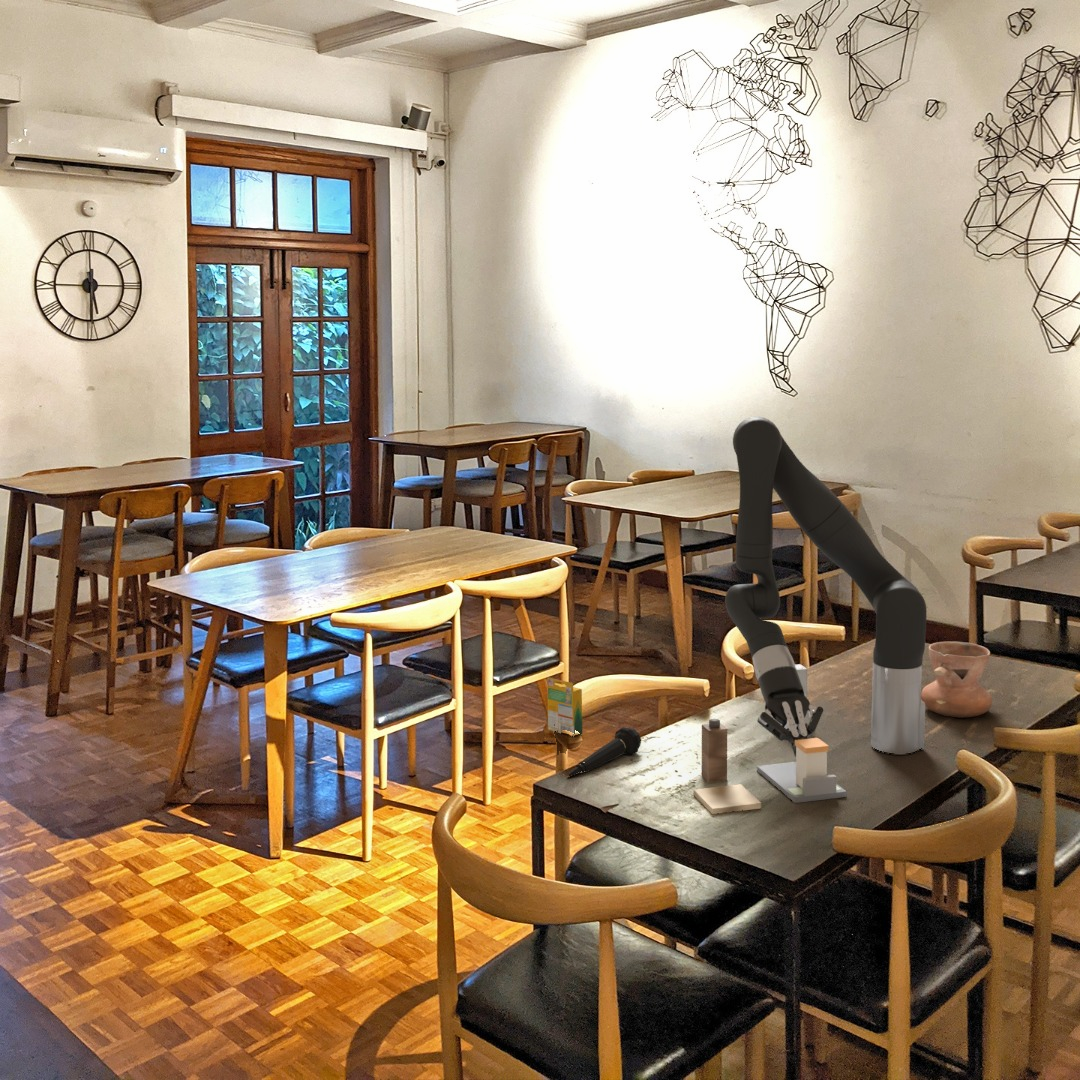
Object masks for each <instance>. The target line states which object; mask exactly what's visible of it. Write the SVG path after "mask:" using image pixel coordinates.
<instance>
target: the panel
mask: <svg viewBox="0 0 1080 1080" xmlns="http://www.w3.org/2000/svg"><path fill="white" fill-rule="evenodd" d="M756 772H758V774H760V775H761V776H762V777H764V779H766V780H767V781H768V782H769V781H770V782H769V783H770V784H772V785H773V786H774V787H775V786H776V787H777V788H778V789H777V788H776V787H775V788H776V789H777V790H778V791H780V790H781V791H782V792H783V793H784V794H785V795H784V794H783V793H782V792H781V791H780V792H781V793H782V794H783V795H784V796H786V795H787V796H786V797H787V798H788V799H789V798H790V799H791V800H792V801H791V800H790V799H789V800H790V801H791V802H792V803H793V804H798V803H805V802H815V801H821V800H822V801H823V800H830V799H838V798H839V799H840V798H846V797H847V793H848V792H847V790H845V789H844V788H843V787H842V786H840V785H839V784H838V783H837V779H838V778H837V775H835V774H828V775H825V776H817V777H808V778H803V788H802V787H800V786H799V785H798V784H797V783H796V761H791V762H790V761H789V762H782V763H781V762H780V763H772V764H761V765H757V766H756Z"/></svg>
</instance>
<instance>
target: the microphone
mask: <svg viewBox="0 0 1080 1080" xmlns="http://www.w3.org/2000/svg"><path fill="white" fill-rule="evenodd" d="M641 745H642V738H641V735H640V734H639V732H638V731H637V730H636V729H635V728H632V727H621V728H619V729H618V730H616V731H615V735H614V739H612V740H610V741H609V742H607V743H606V744H605V745H603V746H602V747H600V748H599V749H597V750H596V751H594V752H593V753H591V754H589V755H588V756H587V757H586V758H583V760H581V761H579V762H578V764H581V765H578V764H577V765H576V766H575V767H574V768H573V769H571V770H570V771H569V772H568V773H567V774H566V776H567V775H569V776H571V775H574V774H576V773H578V772H581V771H582V772H584V771H588V770H590V771H591V769H592V770H594V769H596V768H598V767H600V766H602V765H604V764H606V763H607V762H611V761H612V760H614V759H616V758H618V757H620V756H622V755H623V754H624V755H628V756H632V755H635V754H636V753H638V752H639V748H640V747H641ZM583 762H585V763H583ZM588 772H589V771H588ZM584 773H585V772H584ZM574 776H575V775H574Z"/></svg>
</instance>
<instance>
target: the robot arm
mask: <svg viewBox="0 0 1080 1080" xmlns="http://www.w3.org/2000/svg"><path fill="white" fill-rule="evenodd" d="M732 436H733V437H732V446H733V450H734V452H735V455H736V460H737V461H736V462H737V468H738V475H739V505H738V512H737V513H738V514H737V522H736V524H737V525H736V535H735V536H736V537H735V539H736V540H735V542H736V543H735V566H736V568H737V569H738V570H739V571H740V572H743V573H746V574H752V575H755V576H756V578H757V582H756V583H742V584H740V583H739V584H734V585H732V586H730V588H729V589H728V590H727V591H726V594H725V597H724V598H725V599H724V603H725V608H726V612H727V613H728V616H729V618H730V619H731V621H732V622H733V624H734V625H735V626H736V628H737V629H738V631H739V632H740V633H741V635H742V637H743V639H744V640H745V641H746V643H747V647H748V650H749V653H750V656H751V659H752V663H753V668H754V673H755V678H756V679H757V682H758V685H759V689H760V691H761V694H762V697H763V701H764V702H765V706H764V711H763V712H761V714H760V715H759V717H758V718H757V721H756V722H757V724H759V725H760V726H762V728H764V729H765V730H766V731H768V732H769V733H771V734H772V735H773V736H774V737H775V738H777V739H778V741H780V742H783V741H787V742H789V743H790V745H791V749H792V752H793V755H794V757H795V758H796V746H795V740H801V739H810V738H812V735H813V734H814V733H815V732H816V729H817V728H818V724H819V722H820V720H821V717H822V715H823V712H824V708H823V707H822V706H821V705H820V706H817V707H816V706H814V705H812V704H811V702H810V700H809V699H808V697H807V698H806V697H805V695H804V690H803V687H802V684H801V681H800V678H799V675H798V672H797V669H796V667H795V665H796V663H795V661H794V658H793V656H792V654H791V652H790V650H789V647H788V645H787V642H786V640H785V639H786V638H785V637H784V636H785V635H784V634H783V630H782V629H781V626H780V625H779V624H777V623H776V622H774V621H770V620H765V619H771V618H773V617H775V616H776V615H777V613H778V611H779V610H780V606H781V597H780V591H779V588H778V584H777V580H776V576H775V569H774V565H773V547H774V546H773V545H774V544H773V543H774V528H773V526H774V524H773V522H774V521H773V493H774V491H775V493H776V494H777V495H778V497H779V499H780V500H781V502H782V503H783V505H784V506H785V509H786V510H787V511H788V512H789V514H790V515H791V517H792V518H793V520H794V521H795V524H797V526H798V527H799V528H800V529H801V531H802V532H804V534H805V535H806V536H807V538H809V540H810V541H811V542H812V543H813V545H814V546H816V548H817V549H818V550H819V551H820V552H821V553H822V554H823V555H824V556H826V557H827V558H828V559H829V560H830V561H831V562H832V563H834V564H835V565H836V566H838V568H839V569H841V570H842V571H843V572H845V573H846V574H847V575H848V576H849V577H850V578H851V579H852V581H854V583H855V584H856V586H858V588H859V589H860V591H861V592H862V593H863V595H864V596H865V598H866V599H867V601H868V602H869V603H870V605H871V607H872V608H873V611H874V612H875V614H876V615H875V617H876V618H875V642H874V647H873V651H872V653H873V655H872V684H871V685H872V690H871V728H870V729H871V730H870V731H871V732H870V746H871V745H872V746H871V748H872V747H873V748H872V749H874V748H875V749H877V750H879V751H878V752H880V751H882V752H881V753H884V752H891V753H909V752H914V751H916V750H918V749H921V748H924V749H925V729H926V728H925V726H926V725H925V724H926V723H925V722H926V706H925V702H923V701H922V700H921V692H922V688H923V686H922V683H923V682H922V681H923V657H924V653H925V649H926V634H927V633H926V632H927V604H926V600H925V598H924V596H923V595H922V593H921V592H920V591H919V590H918V588H917V587H916V586H915V585H914V584H913V583H912V582H911V581H910V580H908V579H907V578H906V577H905V576H904V575H902V573H901V572H899V571H898V570H897V569H896V568H895V567H894V566H893V565H892V564H891V563H890V562H889V561H888V560H887V559H886V558H885V557H884V556H883V555H882V553H881V552H880V551H879V550H878V548H877V547H876V545H875V543H873V541H872V539H871V538H870V535H868V532H867V531H866V530H865V529H864V527H863V526H862V524H861V523H860V522H859V521H858V519H857V518H856V517H855V516H854V514H853V513H852V512H851V510H849V509H848V508H847V506H846V505H845V504H844V503H843V502H842V500H840V498H839V497H838V496H837V495H836V494H835V493H834V492H833V491H832V490H831V489H830V488H829V486H827V485H826V484H825V483H824V482H822V480H821V479H819V478H818V477H817V476H816V475H815V474H813V472H812V471H810V470H809V469H808V468H807V467H806V466H805V465H804V464H803V462H802V461H801V460H800V459H799V458H798V456H797V455H796V454H795V452H794V451H793V450H792V449H791V447H790V445H789V444H788V443H787V441H785V439H784V437H783V436H782V434H781V431H780V430H779V428H778V427H777V426H776V424H775V423H774V422H773V421H771V420H770V419H768V418H765V417H763V416H762V417H761V416H750V417H748V418H746V419H743V420H742V421H741V422H739V423H738V425H737V426H736V428H735V430H734V433H733V435H732ZM806 713H807V714H808V718H809V719H810V720H809V722H808V724H807V727H806V723H805V716H806ZM778 722H779V723H780V724H779V723H778ZM875 749H874V750H875ZM877 750H876V751H877ZM921 750H922V749H921ZM883 751H884V752H883ZM918 751H919V750H918Z"/></svg>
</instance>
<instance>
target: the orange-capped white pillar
mask: <svg viewBox="0 0 1080 1080" xmlns="http://www.w3.org/2000/svg"><path fill="white" fill-rule="evenodd" d="M795 746H796V757H795V762H796V783H797V784H798V785H799V786H800V787H802V788H803V778H808V777H817V776H825V775H827V772H828V771H827V770H828V767H827V765H828V760H827V759H828V752H830V751H829V750H830V748H829V747H830V746H829V745H828V744H827V743H825V742H824V741H823V740H821V739H820V738H818V737H810V738H807V739H801V740H795Z"/></svg>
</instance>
